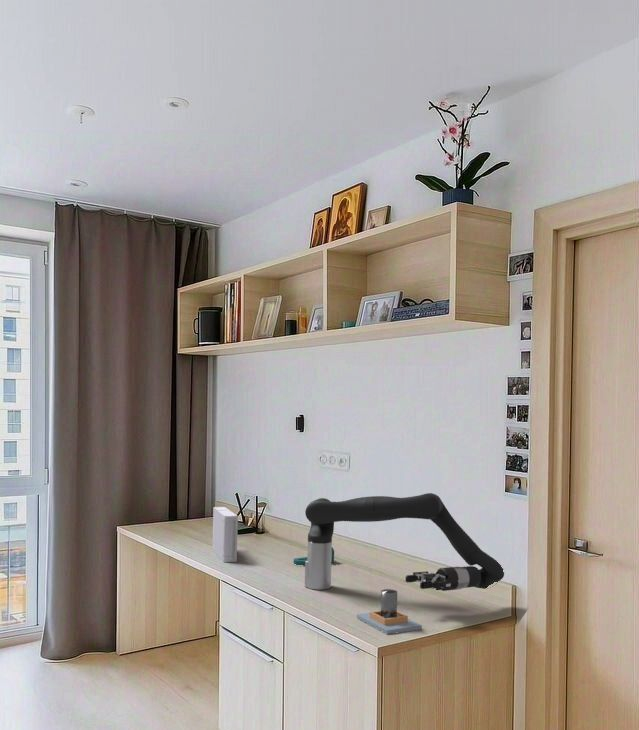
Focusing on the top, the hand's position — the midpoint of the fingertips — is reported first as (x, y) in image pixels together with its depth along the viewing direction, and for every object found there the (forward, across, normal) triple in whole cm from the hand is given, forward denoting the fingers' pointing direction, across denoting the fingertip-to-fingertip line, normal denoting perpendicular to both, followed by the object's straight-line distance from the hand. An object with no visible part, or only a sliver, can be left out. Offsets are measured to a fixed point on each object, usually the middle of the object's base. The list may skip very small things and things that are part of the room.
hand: (413, 582), depth 242 cm
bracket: (-6, -84, +13) cm, 85 cm away
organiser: (+11, +2, +12) cm, 16 cm away
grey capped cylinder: (+11, +2, +10) cm, 15 cm away
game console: (+25, -112, +14) cm, 116 cm away
